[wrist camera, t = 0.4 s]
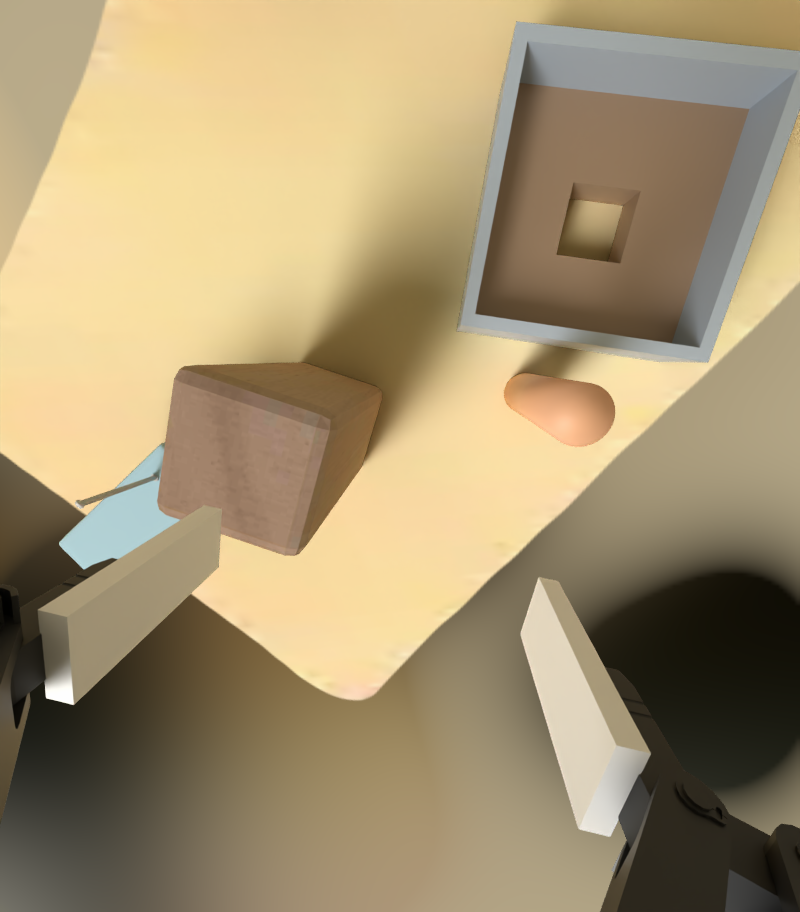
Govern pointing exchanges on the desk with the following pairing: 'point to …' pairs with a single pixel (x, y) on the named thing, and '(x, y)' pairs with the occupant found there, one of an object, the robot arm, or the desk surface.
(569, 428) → the peg
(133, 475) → the radio
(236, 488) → the wooden block
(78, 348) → the desk surface
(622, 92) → the bore box
